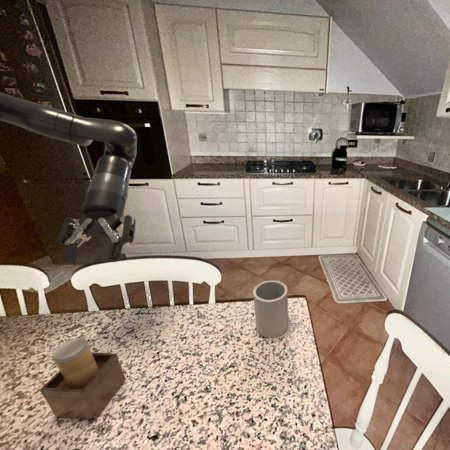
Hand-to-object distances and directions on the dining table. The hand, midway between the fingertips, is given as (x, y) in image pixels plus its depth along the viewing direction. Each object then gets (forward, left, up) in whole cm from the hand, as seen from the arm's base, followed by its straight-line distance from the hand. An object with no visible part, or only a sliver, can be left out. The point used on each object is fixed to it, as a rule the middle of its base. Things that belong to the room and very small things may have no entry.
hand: (90, 262), depth 52 cm
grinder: (+2, -11, -20) cm, 23 cm away
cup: (+37, +11, -26) cm, 46 cm away
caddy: (+2, -11, -26) cm, 28 cm away
